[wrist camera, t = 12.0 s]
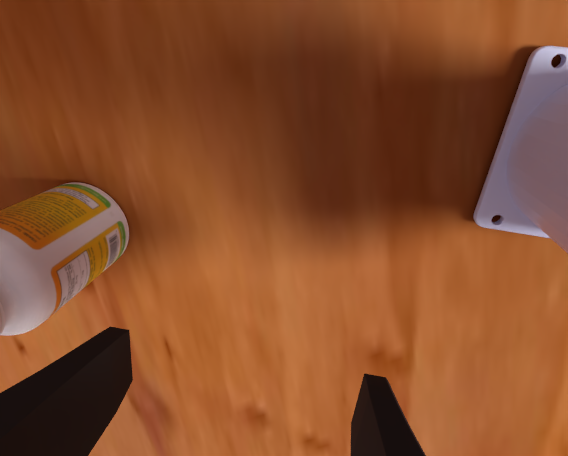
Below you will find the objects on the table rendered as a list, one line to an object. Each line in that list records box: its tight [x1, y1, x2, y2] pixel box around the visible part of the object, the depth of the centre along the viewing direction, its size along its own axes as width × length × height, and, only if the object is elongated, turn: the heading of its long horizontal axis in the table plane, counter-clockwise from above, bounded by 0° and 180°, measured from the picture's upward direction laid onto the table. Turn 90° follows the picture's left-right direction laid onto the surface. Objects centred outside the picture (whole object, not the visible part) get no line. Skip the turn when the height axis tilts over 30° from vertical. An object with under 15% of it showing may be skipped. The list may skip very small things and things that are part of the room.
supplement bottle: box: [0, 182, 129, 335], centre depth 18 cm, size 5×5×10 cm
